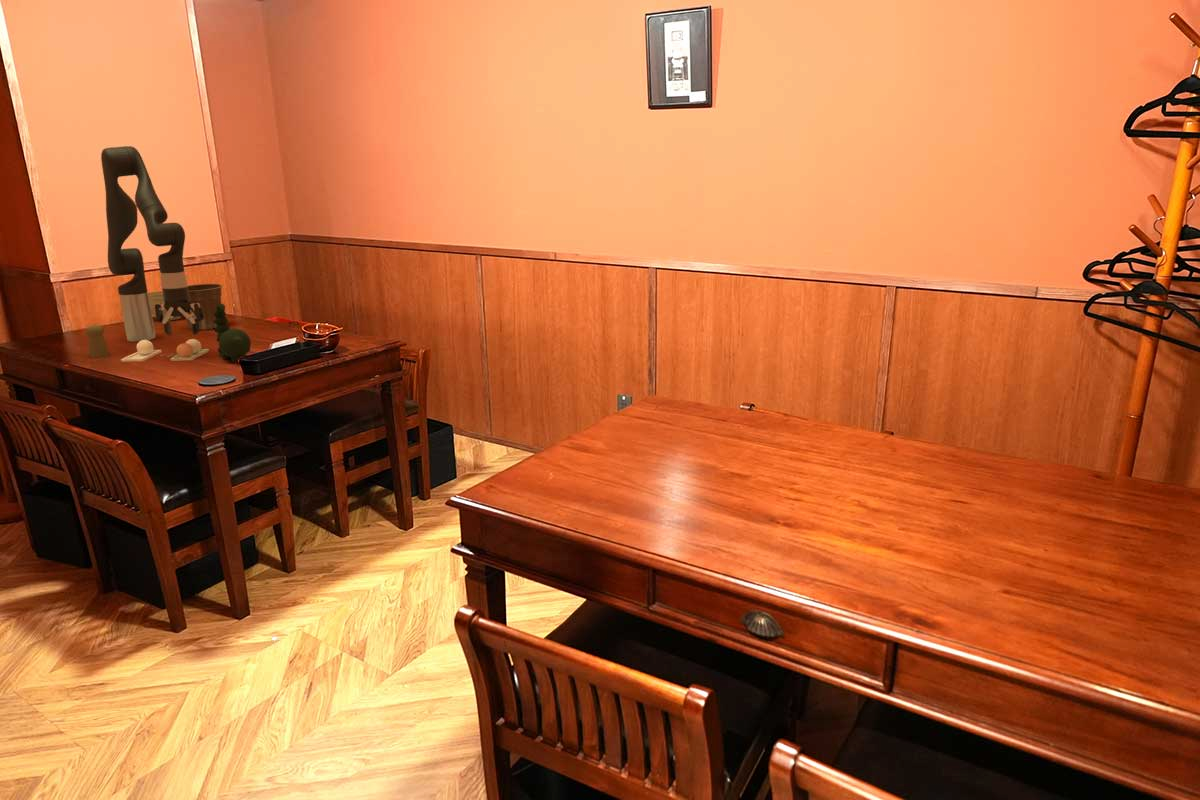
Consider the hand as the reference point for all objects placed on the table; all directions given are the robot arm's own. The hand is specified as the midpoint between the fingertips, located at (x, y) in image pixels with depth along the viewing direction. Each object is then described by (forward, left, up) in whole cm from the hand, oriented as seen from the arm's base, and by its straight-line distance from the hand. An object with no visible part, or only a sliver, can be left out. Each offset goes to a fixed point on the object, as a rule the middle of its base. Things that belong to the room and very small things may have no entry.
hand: (182, 334), depth 268 cm
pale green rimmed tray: (-3, 0, -8) cm, 9 cm away
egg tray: (-3, -16, -8) cm, 18 cm away
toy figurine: (+1, +16, -9) cm, 18 cm away
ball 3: (-6, 0, -8) cm, 10 cm away
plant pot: (-53, -16, -9) cm, 56 cm away
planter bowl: (-72, -39, -9) cm, 82 cm away
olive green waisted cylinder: (-5, -31, -9) cm, 32 cm away
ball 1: (-6, -16, -8) cm, 19 cm away
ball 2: (0, 0, -8) cm, 8 cm away
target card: (-3, -8, -8) cm, 12 cm away
